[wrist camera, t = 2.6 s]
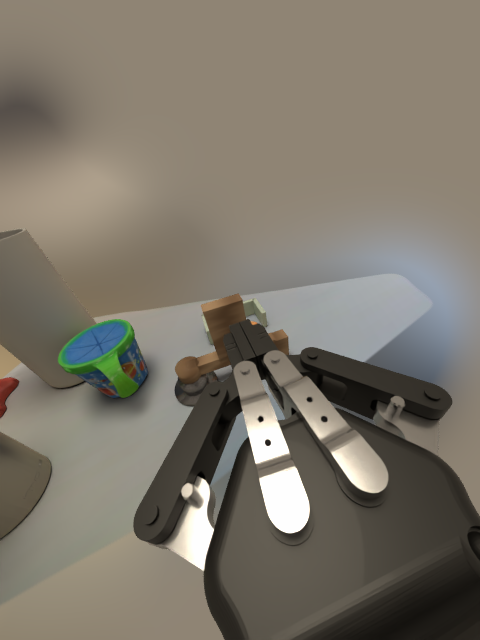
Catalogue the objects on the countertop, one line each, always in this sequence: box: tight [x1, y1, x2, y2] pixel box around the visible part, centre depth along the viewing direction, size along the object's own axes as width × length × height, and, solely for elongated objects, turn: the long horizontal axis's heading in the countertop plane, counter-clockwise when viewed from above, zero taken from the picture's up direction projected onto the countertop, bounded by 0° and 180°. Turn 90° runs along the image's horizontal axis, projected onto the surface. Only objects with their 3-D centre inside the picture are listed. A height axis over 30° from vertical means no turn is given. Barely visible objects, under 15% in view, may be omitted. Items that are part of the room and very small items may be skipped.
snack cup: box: [58, 319, 148, 398], centre depth 36 cm, size 16×10×10 cm
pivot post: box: [175, 371, 218, 406], centre depth 35 cm, size 7×7×3 cm
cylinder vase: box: [0, 228, 97, 388], centre depth 37 cm, size 12×12×25 cm
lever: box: [175, 294, 289, 384], centre depth 32 cm, size 18×4×14 cm, turn 107°
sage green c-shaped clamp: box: [202, 298, 267, 345], centre depth 45 cm, size 12×6×4 cm, turn 107°
